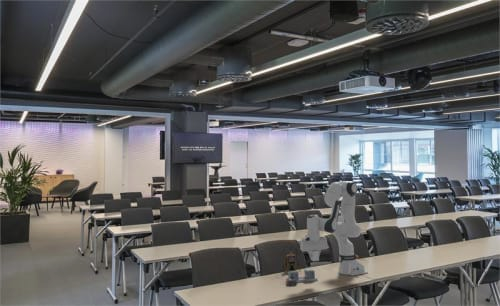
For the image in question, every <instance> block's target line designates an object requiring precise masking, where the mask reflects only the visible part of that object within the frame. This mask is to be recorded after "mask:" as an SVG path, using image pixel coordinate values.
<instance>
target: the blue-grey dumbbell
mask: <svg viewBox="0 0 500 306" xmlns="http://www.w3.org/2000/svg"><path fill="white" fill-rule="evenodd" d="M303 273H304V276H300V277H299V272H297V270H296V271H287V274H288V278H286V279H285V281H286V282H287V279H296V280H297V282H298V283H308V282H317V281H318V279H319V278H317V277H315V276H316V274H315V270H314V269H313V268H310V269H304V271H303Z"/></svg>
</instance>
